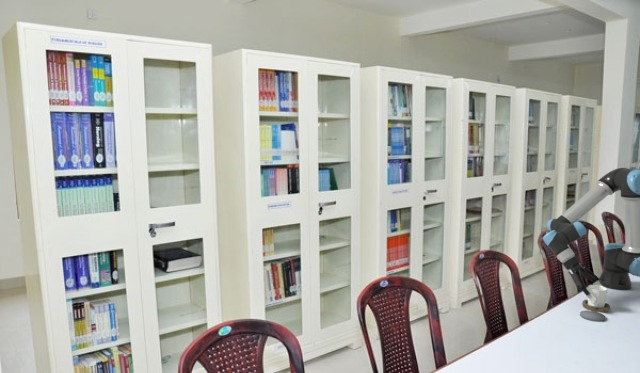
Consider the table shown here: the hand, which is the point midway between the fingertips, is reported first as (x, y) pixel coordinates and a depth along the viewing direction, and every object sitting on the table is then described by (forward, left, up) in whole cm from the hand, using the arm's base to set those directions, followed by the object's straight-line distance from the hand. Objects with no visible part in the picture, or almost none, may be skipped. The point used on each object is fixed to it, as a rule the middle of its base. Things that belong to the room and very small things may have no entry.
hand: (599, 297), depth 222 cm
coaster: (+13, +2, -6) cm, 14 cm away
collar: (0, -1, -6) cm, 6 cm away
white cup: (0, -1, -6) cm, 6 cm away
